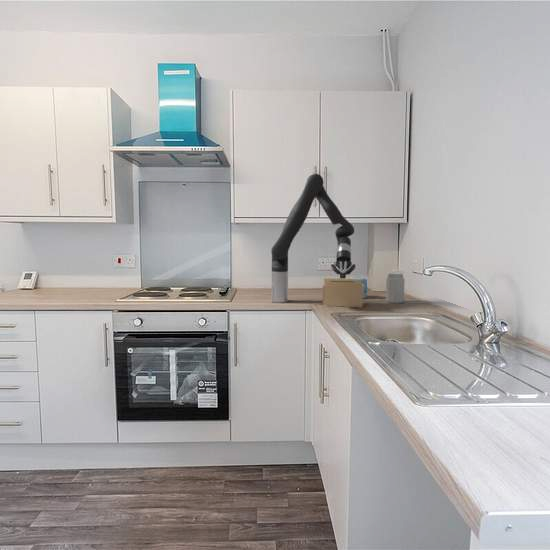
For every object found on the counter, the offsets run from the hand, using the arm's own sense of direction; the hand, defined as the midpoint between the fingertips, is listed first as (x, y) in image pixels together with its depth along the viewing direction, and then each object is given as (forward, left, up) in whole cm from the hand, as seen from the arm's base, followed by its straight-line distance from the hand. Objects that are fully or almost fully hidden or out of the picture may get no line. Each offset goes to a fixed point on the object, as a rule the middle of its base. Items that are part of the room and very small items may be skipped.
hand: (342, 280), depth 200 cm
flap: (+1, +6, -3) cm, 7 cm away
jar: (+33, +18, -15) cm, 41 cm away
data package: (+17, +37, -15) cm, 44 cm away
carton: (+3, +13, -15) cm, 20 cm away
